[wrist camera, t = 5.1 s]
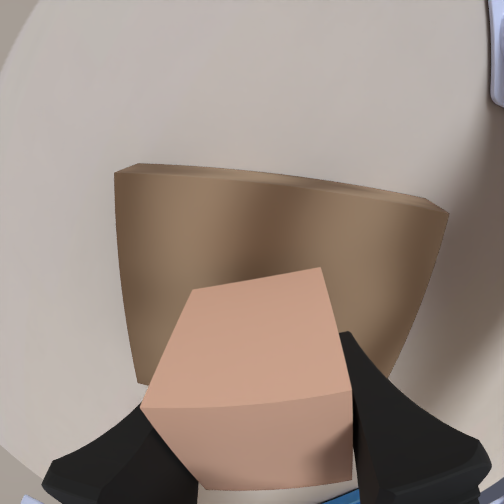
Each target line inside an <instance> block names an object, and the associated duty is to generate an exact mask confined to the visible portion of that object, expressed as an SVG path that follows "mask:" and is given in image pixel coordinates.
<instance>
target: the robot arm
mask: <svg viewBox="0 0 504 504" xmlns="http://www.w3.org/2000/svg"><path fill="white" fill-rule="evenodd" d="M488 5H489V15H490V29H491V90H490V93H491V98H492V100H493V102H494V103H495V104H497V105H499V106H501V107H503V108H504V0H488ZM339 337H340V341H341V345H342V349H343V353H344V357H345V362H346V366H347V370H348V375H349V379H350V383H351V388H352V409H353V449H354V455H355V462H356V470H357V478H358V487H359V497H360V504H479V501H478V497H479V496H480V491H479V488H478V485H479V484H480V483H481V482H482V481H483V479H484V478H485V477H486V476H487V475H488V473H489V471H490V470H491V468H492V464H491V461H490V459H489V456H488V454H487V452H486V451H485V449H484V447H483V446H482V444H481V443H480V441H479V440H478V439H475V438H473V437H471V436H469V435H466V434H464V433H462V432H460V431H458V430H456V429H454V428H452V427H451V426H449V425H447V424H445V423H443V422H442V421H440V420H439V419H437V418H435V417H434V416H432V415H431V414H429V413H428V412H426V411H425V410H423V409H422V408H421V407H419V406H418V405H417V404H415V403H414V402H413V401H411V400H410V399H409V398H408V397H407V396H405V395H404V394H403V393H402V392H401V391H400V390H399V389H397V388H396V387H395V386H394V385H393V384H392V383H391V382H390V381H389V380H388V379H387V378H386V377H385V376H384V375H383V374H382V372H381V371H380V370H379V369H378V368H377V367H376V366H375V365H374V363H373V362H372V361H371V360H370V359H369V357H368V356H367V355H366V354H365V352H364V351H363V350H362V348H361V347H360V346H359V344H358V343H357V341H356V340H355V338H354V337H353V335H352V333H351V332H349V331H346V332H341V333H339ZM141 403H142V402H141ZM141 403H140V404H139V405H138V406H137V407H136V408H135V409H134V410H133V411H132V412H131V413H130V414H129V415H128V416H126V417H125V418H124V419H123V420H122V421H120V422H119V423H118V424H117V425H116V426H114V427H113V428H111V429H110V430H109V431H107V432H106V433H104V434H103V435H102V436H100V437H99V438H97V439H96V440H94V441H92V442H91V443H89V444H87V445H86V446H84V447H82V448H80V449H78V450H76V451H74V452H72V453H70V454H68V455H65V456H63V457H61V458H59V459H56V460H53V461H52V463H51V465H50V467H49V469H48V471H47V473H46V475H45V478H44V480H43V482H42V487H43V488H44V490H45V491H46V492H47V493H48V494H50V495H51V496H53V497H54V498H55V499H57V500H58V501H59V502H61V503H62V504H197V497H198V480H197V479H196V478H195V477H194V476H193V475H192V474H191V473H190V471H189V470H188V469H187V468H186V467H185V466H184V464H183V463H182V462H181V461H180V460H179V459H178V457H177V456H176V455H175V454H174V452H173V451H172V450H171V449H170V448H169V446H168V445H167V444H166V442H165V441H164V440H163V439H162V437H161V436H160V435H159V433H158V432H157V431H156V429H155V428H154V427H153V425H152V424H151V423H150V421H149V420H148V419H147V417H146V416H145V414H144V413H143V412H142V410H141V409H140V405H141ZM20 504H44V503H42V502H40V501H38V500H36V499H34V498H32V497H30V496H28V495H24V497H23V499H22V501H21V503H20ZM489 504H504V496H502V497H501V498H499V499H497V500H495V501H493V502H491V503H489Z"/></svg>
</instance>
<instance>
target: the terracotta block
mask: <svg viewBox="0 0 504 504" xmlns="http://www.w3.org/2000/svg"><path fill="white" fill-rule="evenodd" d="M140 409H141V410H142V412H143V413H144V414H145V416H146V417H147V419H148V420H149V421H150V423H151V424H152V425H153V427H154V428H155V429H156V431H157V432H158V433H159V435H160V436H161V437H162V439H163V440H164V441H165V442H166V444H167V445H168V446H169V448H170V449H171V450H172V451H173V452H174V454H175V455H176V456H177V457H178V459H179V460H180V461H181V462H182V463H183V464H184V466H185V467H186V468H187V469H188V470H189V471H190V473H191V474H192V475H193V476H194V477H195V478H196V479H197V480H198V482H199V483H200V484H201V485H202V486H203V487H204V488H205V489H206V490H230V491H247V490H274V489H289V488H300V487H309V486H317V485H325V484H331V483H338V482H344V481H349V480H352V461H353V409H352V388H351V383H350V379H349V375H348V370H347V366H346V362H345V357H344V353H343V349H342V345H341V341H340V337H339V333H338V329H337V325H336V321H335V317H334V314H333V310H332V306H331V302H330V299H329V295H328V291H327V288H326V284H325V280H324V277H323V273H322V270H321V267H318V268H312V269H307V270H302V271H296V272H291V273H285V274H280V275H274V276H269V277H263V278H258V279H252V280H246V281H241V282H235V283H229V284H223V285H217V286H211V287H205V288H199V289H193V290H192V292H191V294H190V296H189V298H188V300H187V302H186V304H185V306H184V309H183V311H182V313H181V315H180V317H179V319H178V322H177V324H176V326H175V328H174V330H173V333H172V335H171V337H170V339H169V341H168V344H167V346H166V348H165V350H164V353H163V355H162V357H161V359H160V362H159V364H158V366H157V368H156V371H155V373H154V375H153V378H152V380H151V382H150V384H149V387H148V389H147V391H146V394H145V396H144V398H143V401H142V403H141V405H140Z"/></svg>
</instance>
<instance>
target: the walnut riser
mask: <svg viewBox="0 0 504 504" xmlns="http://www.w3.org/2000/svg"><path fill="white" fill-rule="evenodd" d="M114 187H115V215H116V232H117V246H118V258H119V268H120V278H121V286H122V294H123V302H124V309H125V316H126V323H127V329H128V335H129V341H130V346H131V352H132V357H133V362H134V367H135V372H136V377H137V382H138V383H140V384H144V385H149V384H150V382H151V380H152V378H153V375H154V373H155V371H156V368H157V366H158V364H159V362H160V359H161V357H162V355H163V353H164V350H165V348H166V346H167V344H168V341H169V339H170V337H171V335H172V333H173V330H174V328H175V326H176V324H177V322H178V319H179V317H180V315H181V313H182V311H183V309H184V306H185V304H186V302H187V300H188V298H189V296H190V294H191V292H192V290H193V289H199V288H205V287H211V286H217V285H223V284H229V283H235V282H241V281H246V280H252V279H258V278H263V277H269V276H274V275H280V274H285V273H291V272H296V271H302V270H307V269H312V268H318V267H321V270H322V273H323V277H324V280H325V284H326V288H327V291H328V295H329V299H330V302H331V306H332V310H333V314H334V317H335V321H336V325H337V329H338V333H341V332H346V331H349V332H351V333H352V335H353V337H354V338H355V340H356V341H357V343H358V344H359V346H360V347H361V348H362V350H363V351H364V352H365V354H366V355H367V356H368V357H369V359H370V360H371V361H372V362H373V363H374V365H375V366H376V367H377V368H378V369H379V370H380V371H381V372H382V374H383V375H384V376H385V377H386V378H387V379H388V377H389V375H390V373H391V371H392V369H393V367H394V365H395V363H396V360H397V358H398V356H399V354H400V352H401V350H402V348H403V345H404V343H405V341H406V339H407V336H408V334H409V332H410V329H411V327H412V325H413V322H414V320H415V317H416V315H417V312H418V310H419V307H420V305H421V302H422V299H423V297H424V294H425V291H426V289H427V286H428V283H429V280H430V277H431V274H432V271H433V268H434V265H435V262H436V259H437V256H438V253H439V249H440V246H441V243H442V239H443V236H444V232H445V229H446V225H447V221H448V217H449V213H448V212H446V211H445V210H443V209H442V208H440V207H438V206H437V205H435V204H434V203H432V202H430V201H429V200H427V199H425V198H421V197H416V196H411V195H406V194H401V193H396V192H391V191H386V190H380V189H375V188H369V187H364V186H358V185H352V184H346V183H339V182H333V181H326V180H319V179H312V178H305V177H298V176H290V175H282V174H273V173H264V172H255V171H245V170H235V169H224V168H211V167H198V166H183V165H164V164H140V163H138V164H135V165H133V166H130V167H127V168H125V169H122V170H120V171H117V172H115V173H114Z"/></svg>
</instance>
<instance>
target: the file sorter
mask: <svg viewBox="0 0 504 504" xmlns="http://www.w3.org/2000/svg"><path fill="white" fill-rule="evenodd" d="M323 504H360V497H359V489H357V490H355V491H353V492H351V493H348V494H346V495H343V496H341V497H338V498H336V499H333V500H331V501H328V502H325V503H323Z"/></svg>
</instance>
